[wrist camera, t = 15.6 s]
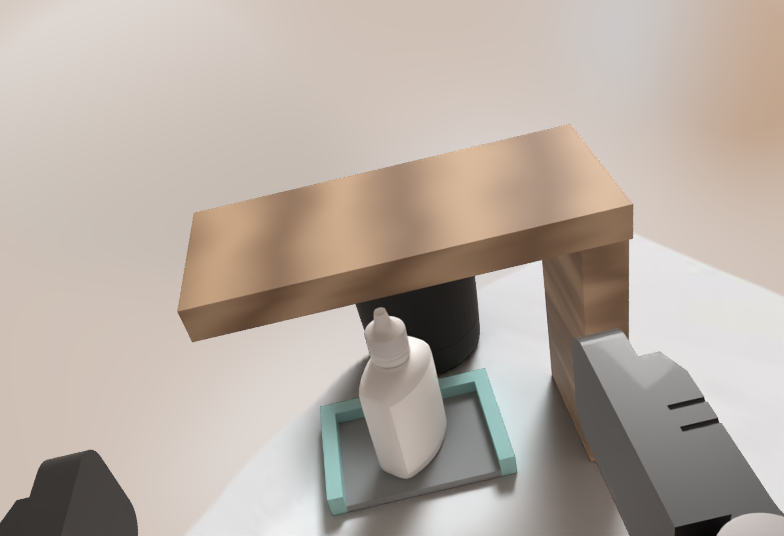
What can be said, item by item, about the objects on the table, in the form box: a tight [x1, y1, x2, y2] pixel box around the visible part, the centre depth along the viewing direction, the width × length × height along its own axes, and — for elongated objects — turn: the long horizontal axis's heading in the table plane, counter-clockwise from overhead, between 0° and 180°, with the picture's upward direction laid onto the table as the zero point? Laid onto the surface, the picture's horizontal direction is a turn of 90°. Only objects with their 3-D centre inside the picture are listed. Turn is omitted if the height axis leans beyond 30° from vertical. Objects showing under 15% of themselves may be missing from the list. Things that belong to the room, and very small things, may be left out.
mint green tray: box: [320, 368, 517, 515], centre depth 49 cm, size 12×8×2 cm, turn 98°
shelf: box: [178, 124, 633, 462], centre depth 44 cm, size 22×9×19 cm, turn 98°
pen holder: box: [356, 276, 480, 374], centre depth 55 cm, size 9×9×10 cm
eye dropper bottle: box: [359, 308, 447, 479], centre depth 45 cm, size 4×6×12 cm
